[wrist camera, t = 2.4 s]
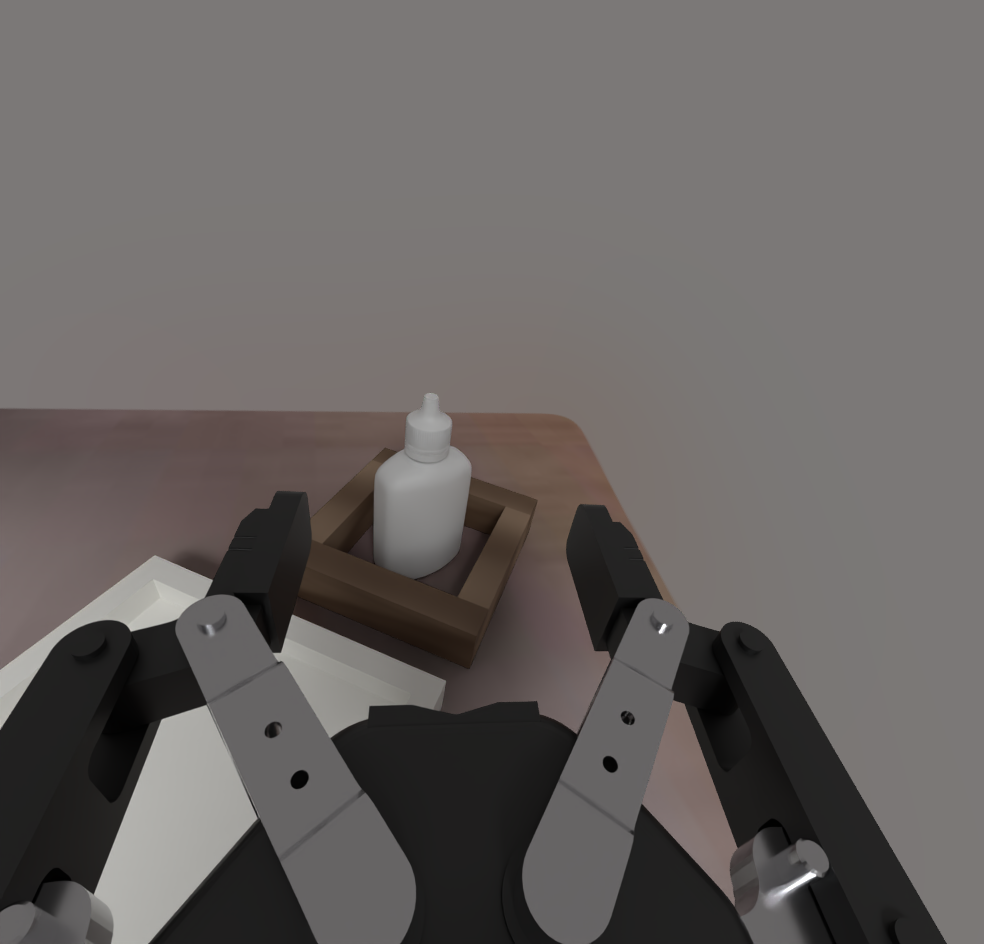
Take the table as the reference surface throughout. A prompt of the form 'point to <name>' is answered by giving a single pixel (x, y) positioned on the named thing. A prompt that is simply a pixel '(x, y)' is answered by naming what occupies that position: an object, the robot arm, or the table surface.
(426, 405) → the eye dropper bottle
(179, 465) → the table surface
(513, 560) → the walnut holder
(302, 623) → the tray
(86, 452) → the table surface
